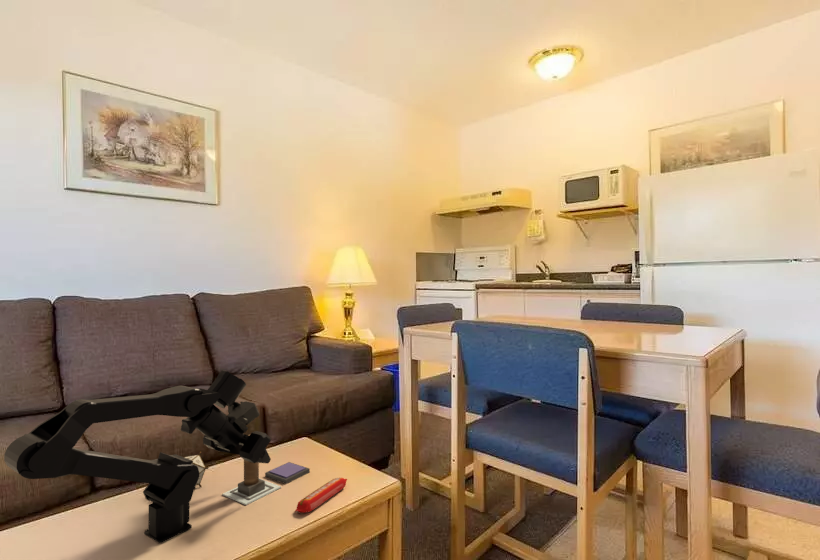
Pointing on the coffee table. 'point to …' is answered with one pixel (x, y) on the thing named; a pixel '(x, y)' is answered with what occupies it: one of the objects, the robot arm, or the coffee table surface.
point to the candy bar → (321, 495)
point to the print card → (247, 500)
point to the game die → (199, 464)
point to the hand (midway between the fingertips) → (256, 457)
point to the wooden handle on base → (251, 480)
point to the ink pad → (287, 472)
